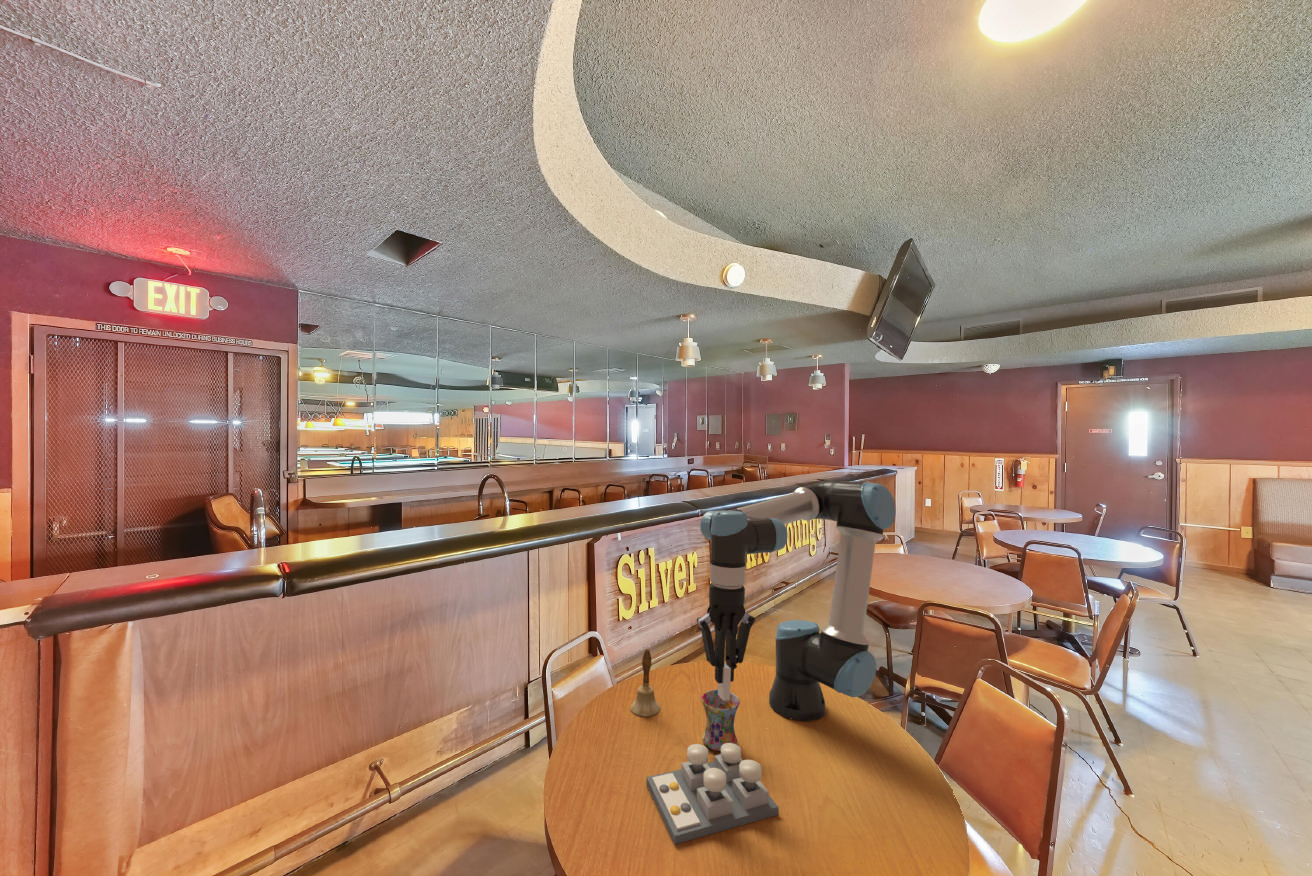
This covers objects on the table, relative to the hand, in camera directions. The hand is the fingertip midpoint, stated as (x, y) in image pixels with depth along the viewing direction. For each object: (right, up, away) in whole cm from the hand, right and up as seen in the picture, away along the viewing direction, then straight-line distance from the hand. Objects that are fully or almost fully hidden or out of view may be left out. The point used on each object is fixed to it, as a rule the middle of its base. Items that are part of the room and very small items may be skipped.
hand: (723, 697), depth 98 cm
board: (-3, -19, -3) cm, 20 cm away
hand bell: (-17, -20, +30) cm, 40 cm away
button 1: (+2, -17, +3) cm, 18 cm away
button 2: (+5, -16, -4) cm, 17 cm away
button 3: (-6, -16, +1) cm, 17 cm away
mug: (+1, -20, +17) cm, 26 cm away
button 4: (-3, -15, -7) cm, 17 cm away
